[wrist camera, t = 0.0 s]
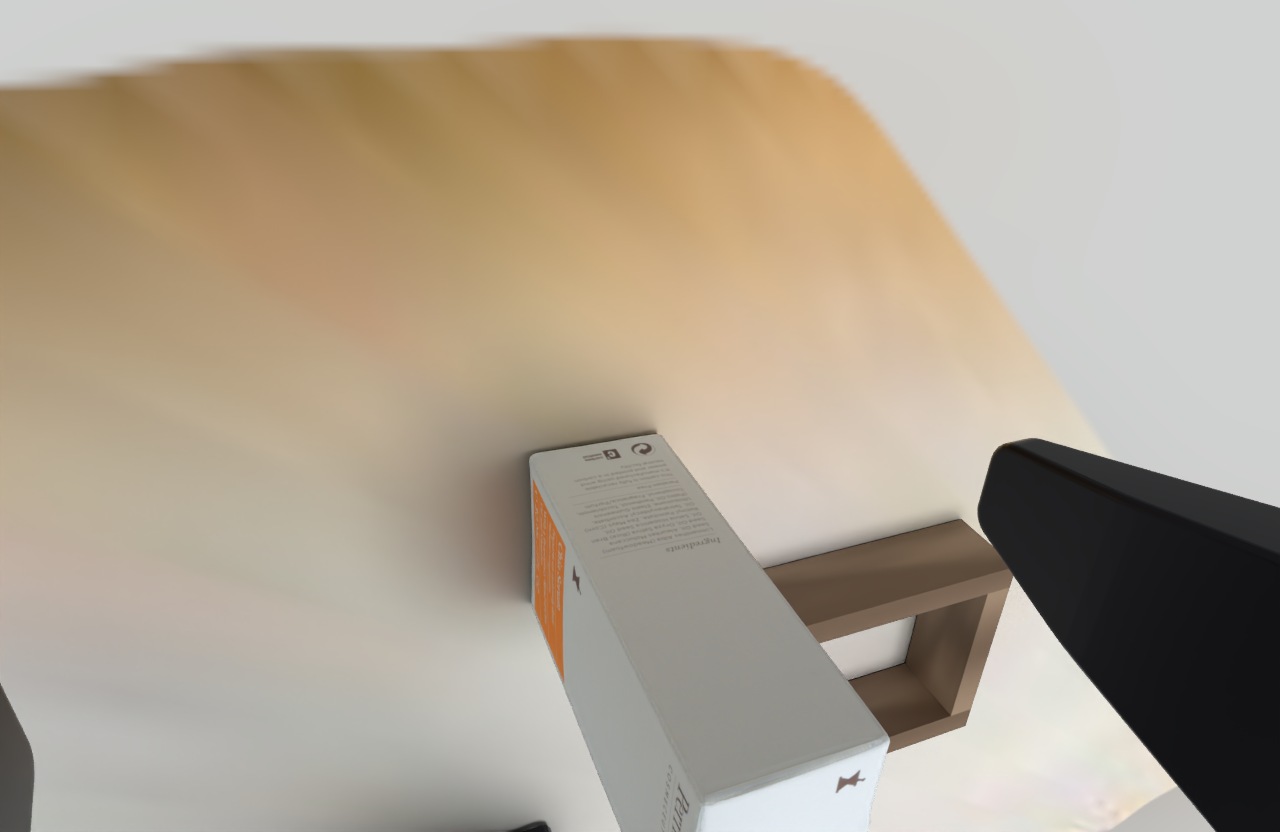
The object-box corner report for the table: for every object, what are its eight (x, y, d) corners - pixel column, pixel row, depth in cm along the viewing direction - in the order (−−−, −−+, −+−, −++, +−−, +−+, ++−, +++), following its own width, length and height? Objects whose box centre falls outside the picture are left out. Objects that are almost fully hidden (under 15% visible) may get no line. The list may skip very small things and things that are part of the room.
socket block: (919, 673, 38) (965, 725, 36) (704, 742, 35) (738, 805, 32) (961, 519, 34) (1016, 566, 31) (720, 580, 30) (760, 639, 28)
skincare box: (522, 450, 25) (701, 801, 15) (660, 428, 26) (903, 735, 16) (526, 611, 28) (677, 988, 18) (649, 582, 29) (849, 917, 20)
